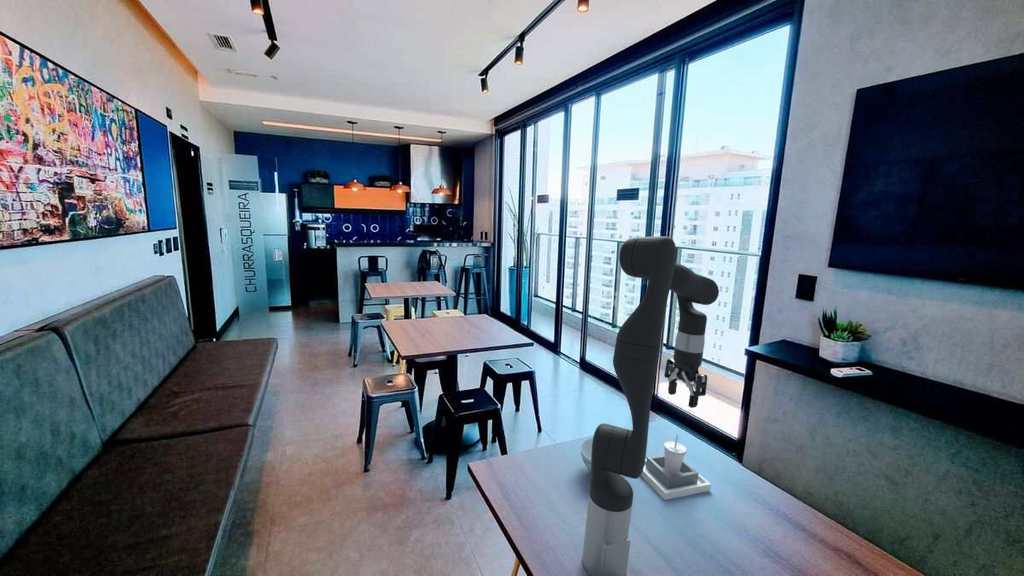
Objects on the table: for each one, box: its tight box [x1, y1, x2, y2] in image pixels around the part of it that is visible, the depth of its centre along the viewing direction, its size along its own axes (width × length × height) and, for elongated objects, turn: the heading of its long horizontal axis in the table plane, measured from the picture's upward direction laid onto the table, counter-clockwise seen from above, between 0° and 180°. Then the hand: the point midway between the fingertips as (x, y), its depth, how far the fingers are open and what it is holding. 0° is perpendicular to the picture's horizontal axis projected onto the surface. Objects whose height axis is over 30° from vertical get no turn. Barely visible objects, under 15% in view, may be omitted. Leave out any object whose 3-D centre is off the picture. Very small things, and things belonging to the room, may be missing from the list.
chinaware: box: [579, 437, 593, 472], centre depth 123 cm, size 15×15×8 cm
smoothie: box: [663, 433, 687, 476], centre depth 121 cm, size 6×6×14 cm
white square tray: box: [640, 454, 712, 501], centre depth 123 cm, size 15×16×5 cm
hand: (681, 400), depth 118 cm, fingers open, 8 cm apart
